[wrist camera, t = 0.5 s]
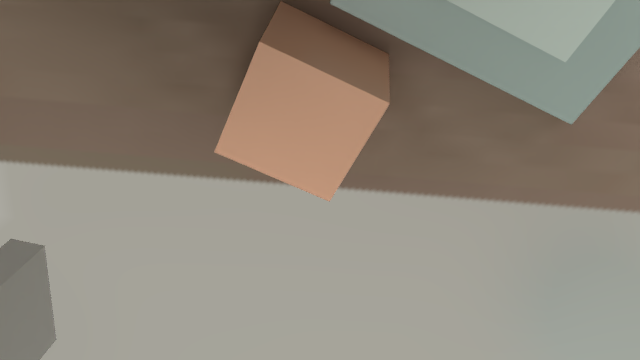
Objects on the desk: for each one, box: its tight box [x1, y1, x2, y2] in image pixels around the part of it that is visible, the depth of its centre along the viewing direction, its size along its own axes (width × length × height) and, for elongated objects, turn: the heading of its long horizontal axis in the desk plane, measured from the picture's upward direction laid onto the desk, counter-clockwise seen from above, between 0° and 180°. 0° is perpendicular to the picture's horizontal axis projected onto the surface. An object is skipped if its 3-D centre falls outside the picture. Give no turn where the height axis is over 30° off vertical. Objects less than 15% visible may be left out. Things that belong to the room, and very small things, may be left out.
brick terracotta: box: [215, 1, 390, 201], centre depth 30 cm, size 7×7×6 cm
